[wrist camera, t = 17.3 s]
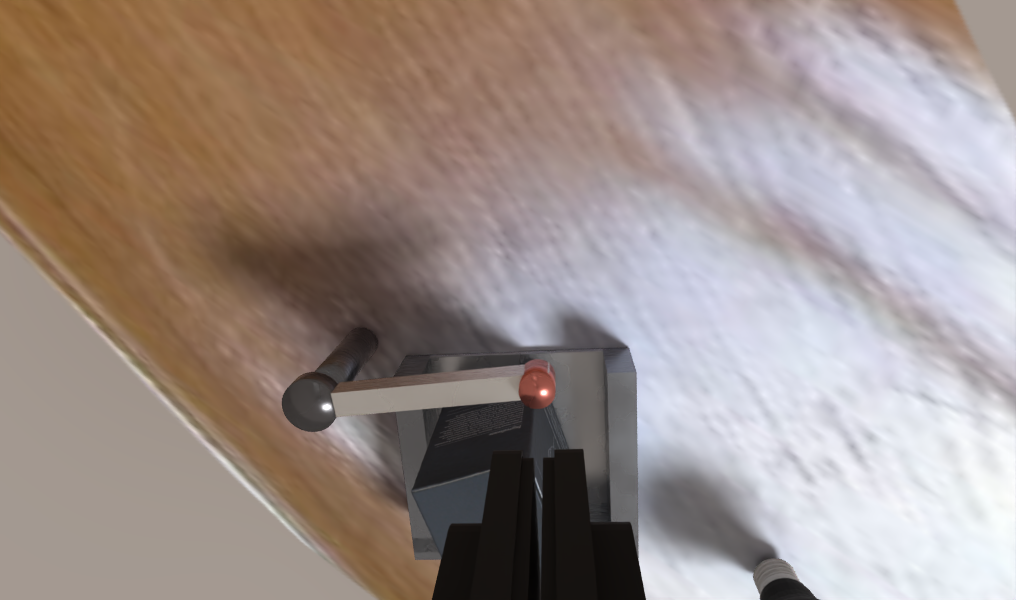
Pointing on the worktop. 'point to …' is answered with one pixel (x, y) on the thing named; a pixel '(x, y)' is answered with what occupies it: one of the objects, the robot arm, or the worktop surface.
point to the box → (479, 460)
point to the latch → (415, 392)
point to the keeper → (578, 404)
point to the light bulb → (779, 582)
